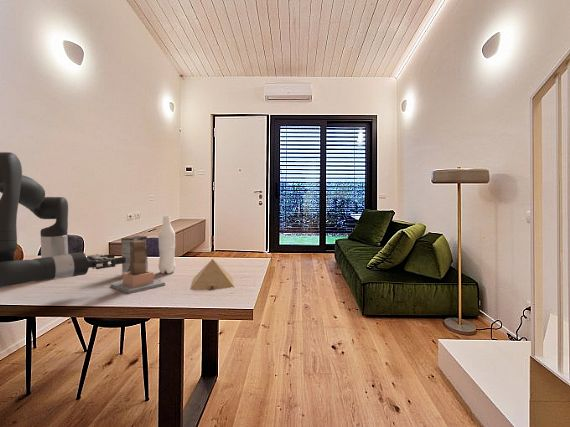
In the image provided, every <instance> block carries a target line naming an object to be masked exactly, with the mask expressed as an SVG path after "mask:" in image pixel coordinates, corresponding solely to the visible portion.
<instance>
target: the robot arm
mask: <svg viewBox="0 0 570 427" xmlns="http://www.w3.org/2000/svg"><path fill="white" fill-rule="evenodd" d="M22 167H23V166H22V163H21V161H20V159H19V157H18V156H17V154H15V153H13V152H9V151H2V152H1V151H0V193H1V194H2V195H1V197H0V289H1V288H2V289H3V288H7V287H11V286H17V285H21V284H26V283H31V282H45V281H49V280H50V281H51V280H59V279H60V280H61V279H66V278H67V279H68V278H72V277H73V278H74V277H79V276H80V277H81V276H85V275H86V274H87V273H88V272H89V269H90V268H92V270H102V269H107V268H115V267H116V265H121V264H123V263H125V262H126V258H125V257H122V256H121V257H115V254H114V253H112V254H111V253H110V254H98V253H96V254H90V255H87V254H86V253H85V252H82V251H81V252H72V253H69V243H68V242H69V241H68V237H69V236H68V228H69V219H68V218H69V202H68V200H67V198H66V197H64V196H63V197H62V196H61V197H60V196H46V191H45V189H44V188H43V186H42V185H41V184H40V183H39V182H37V181H36V180H35V179H33V178H31V177H29V176H27V175H23V170H22V169H23V168H22ZM19 205H21V206H23V207H25V208H26V209H28V210H29V211H30V212H31V213H32V214H34V215H35V216H36V217H37V218H38V219H41V220H55V223H53V224H52V225H50V226H48V227H44V228H41V229H40V234H39V236H40V257H39V258H33V259H18V260H15V253H16V251H17V248H18V234H17V232H18V231H17V217H18V215H17V214H18V208H19Z"/></svg>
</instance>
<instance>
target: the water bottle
mask: <svg viewBox="0 0 570 427" xmlns="http://www.w3.org/2000/svg"><path fill="white" fill-rule="evenodd" d="M171 223H172V221H171V216H169V215H168V216H167V215H166V216H163V217H162V225H161V227H160V229H159V231H158V233H157V236H158V252H159V260H158V270H159V272H160V274H162V275H163V274H165V273H167V274H172V273H174V272H175V271H176V268H177V267H176V259H175V253H176V252H175V251H176V250H175V249H176V232H175V230H174V228H173V226H172V224H171Z"/></svg>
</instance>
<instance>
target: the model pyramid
mask: <svg viewBox="0 0 570 427" xmlns="http://www.w3.org/2000/svg"><path fill="white" fill-rule="evenodd" d="M231 287H233V288H235V284H234V279H233V276H232V275H231V274H230V273H229V272H227V270H225V269H224V268H223V267H222V266H221V265H220V264H219V263H218V262H217V261H216V260H214V258H212V259H210V261H208V263H207V264H206V265H204V267H203V268H202V269H201V270H200V271H199V272H198V273H197V274H196V275H195V276H194V277H193V278H192V281H191V284H190V288H189V289H190V290H205V289H206V290H207V289H208V290H212V289H213V290H216V289H224V288H225V289H227V288H231ZM211 288H212V289H211Z"/></svg>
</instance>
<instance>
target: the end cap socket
mask: <svg viewBox="0 0 570 427" xmlns="http://www.w3.org/2000/svg"><path fill="white" fill-rule="evenodd" d="M154 274H155V273H154V272H153V271H149V270H148V271H147V270H146V273H145V274H139V275H131V274H130V272H125V273H122V277H121V278H122V281H118V282H113V283H110V287H111V288H113V289H117V290H119V291H122V292H124V293H126V294H133V293H137V292H142V291H145V290H150V289H156V288H158V287H163V286H166V282H164V281H161V280H158V279H155V278H154V277H155V275H154Z"/></svg>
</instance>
